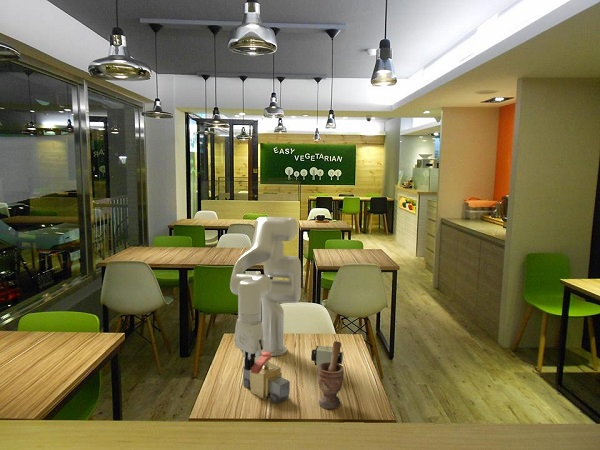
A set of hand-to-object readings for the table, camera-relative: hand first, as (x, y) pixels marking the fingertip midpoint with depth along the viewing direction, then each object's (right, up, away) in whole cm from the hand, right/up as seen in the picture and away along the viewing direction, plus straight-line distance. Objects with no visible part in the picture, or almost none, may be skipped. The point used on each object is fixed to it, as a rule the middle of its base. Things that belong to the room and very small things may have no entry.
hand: (249, 368), depth 154 cm
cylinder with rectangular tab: (-1, -9, +25) cm, 27 cm away
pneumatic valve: (+28, -10, +22) cm, 37 cm away
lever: (+4, +1, +2) cm, 4 cm away
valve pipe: (+5, -11, +8) cm, 14 cm away
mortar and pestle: (+27, -12, +3) cm, 30 cm away
